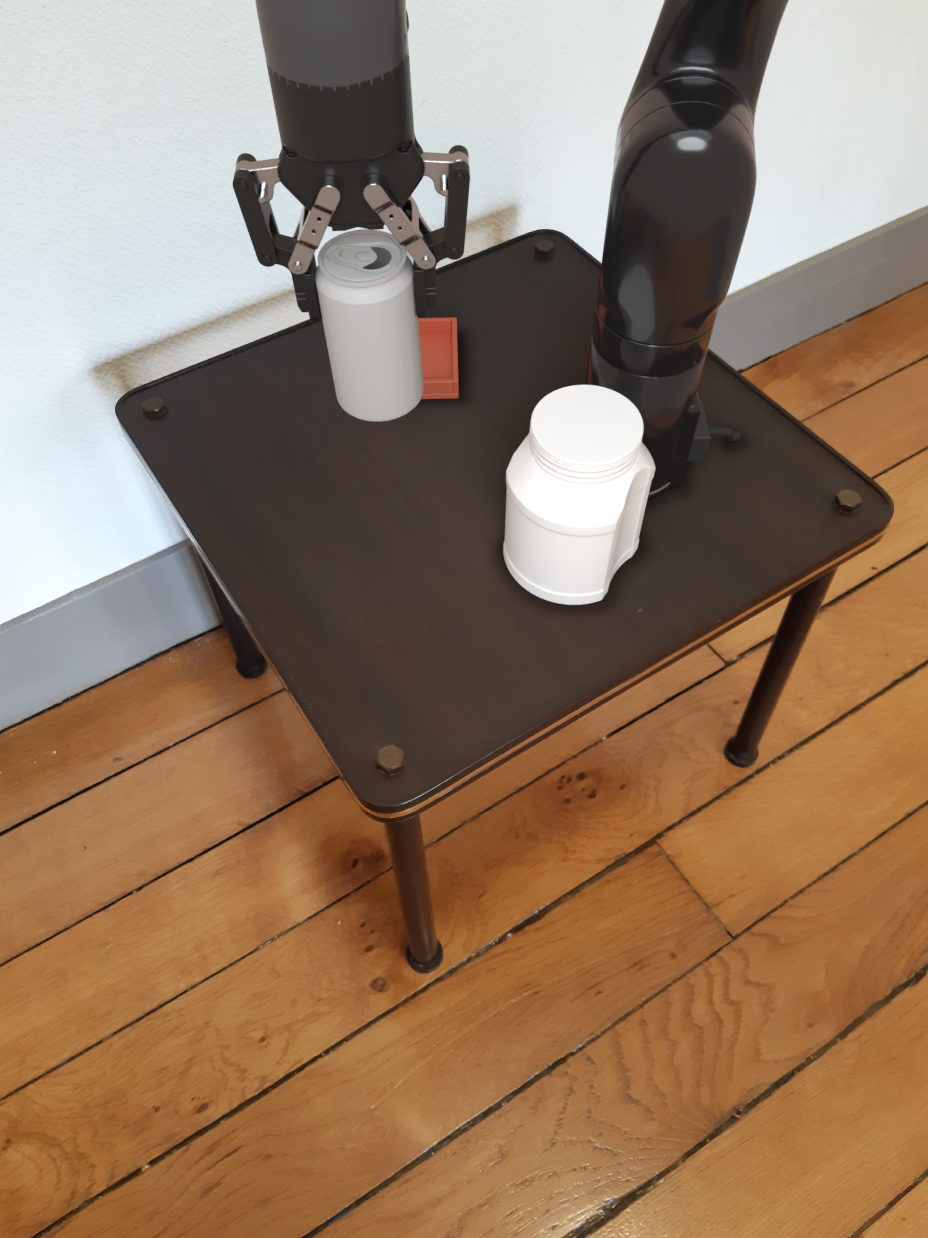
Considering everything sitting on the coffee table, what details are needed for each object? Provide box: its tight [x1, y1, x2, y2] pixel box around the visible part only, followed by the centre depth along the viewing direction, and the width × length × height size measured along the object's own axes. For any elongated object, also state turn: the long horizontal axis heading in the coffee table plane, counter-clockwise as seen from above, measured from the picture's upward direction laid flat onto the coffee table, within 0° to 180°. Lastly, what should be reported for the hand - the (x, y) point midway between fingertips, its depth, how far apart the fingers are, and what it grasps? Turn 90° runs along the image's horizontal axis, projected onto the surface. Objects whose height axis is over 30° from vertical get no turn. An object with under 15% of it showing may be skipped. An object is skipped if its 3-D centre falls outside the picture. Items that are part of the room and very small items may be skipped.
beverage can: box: [315, 228, 424, 423], centre depth 64 cm, size 6×6×12 cm
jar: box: [502, 384, 655, 606], centre depth 75 cm, size 12×10×15 cm
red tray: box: [418, 316, 460, 400], centre depth 93 cm, size 10×10×2 cm
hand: (369, 309), depth 63 cm, fingers closed on beverage can, 6 cm apart
